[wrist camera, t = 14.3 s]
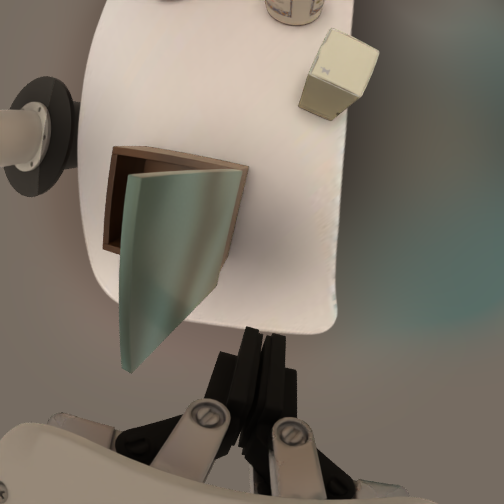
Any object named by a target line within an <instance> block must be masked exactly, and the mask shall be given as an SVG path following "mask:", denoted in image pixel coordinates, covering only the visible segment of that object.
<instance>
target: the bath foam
mask: <svg viewBox="0 0 504 504" xmlns="http://www.w3.org/2000/svg"><path fill="white" fill-rule="evenodd" d="M265 2H266V8H267V10H268V12H269V14H270V15H271V16H272V17H273V18H275V19H276V20H278V21H280V22H282V23H285V24H290V25H303V24H307V23H310V22H312V21H314V20H315V19H316V18H317V17H318V16H319V15H320V13H321V10H322V6H323V3H324V0H265Z"/></svg>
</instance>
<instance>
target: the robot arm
mask: <svg viewBox="0 0 504 504" xmlns="http://www.w3.org/2000/svg"><path fill="white" fill-rule="evenodd" d="M50 137H51V119H50V114H49V111H48V109H47V108H46V106H45V105H44V104H42V103H40V102H30V103H28V104H26V105H25V106H24V107H23V108H22V109H21V110H0V167H5V166H10V165H15V166H16V167H17V168H18V169H19V170H21V171H31V170H33V169H35V168H36V167H38V166H39V164H40V163H41V162H42V160H43V159H44V157H45V155H46V152H47V150H48V146H49V143H50ZM262 339H263V334H260V333H259V330H258V329H255V328H251V327H247V326H246V329H245V332H244V335H243V339H242V343H241V346H240V349H239V352H238V356H235V355H232V354H228V353H225V352H221V351H220V353H219V355H218V358H217V361H216V364H215V367H214V370H213V373H212V376H211V379H210V382H209V385H208V388H207V391H206V394H205V397H204V399H198V400H196V401H194V402H192V403H191V404H190V405H189V406H188V408H187V409H186V411H185V412H184V414H182V415H179V416H176V417H172V418H169V419H166V420H163V421H159V422H156V423H152V424H148V425H145V426H141V427H137V428H133V429H129V430H126V431H119V430H115V428H114V427H111V426H108V425H104V424H100V423H97V422H93V421H90V420H87V419H83V418H80V417H77V416H74V415H71V414H68V413H63V412H61V413H56V414H54V415H53V416H51V417H50V419H49V420H48V423H47V425H45V424H40V423H23V424H20V425H18V426H16V427H14V428H13V429H11V430H10V431H9V432H8V433H7V434H6V435H5V436H4V437H3V438H2V439H1V440H0V504H437V503H436V502H433V501H431V500H427V499H423V498H417V497H409V493H408V492H407V490H406V489H405V488H404V487H402V486H399V485H393V484H385V483H379V482H372V481H366V480H361V479H358V480H357V481H355V480H352V479H351V477H350V476H349V475H347V474H346V473H345V472H344V471H343V470H341V469H340V468H339V467H338V466H336V465H335V464H334V463H333V462H332V461H331V460H330V459H328V458H327V457H326V456H325V455H324V454H323V453H322V452H320V451H319V450H318V449H317V448H316V444H315V440H314V435H313V432H312V430H311V428H310V427H309V425H308V424H307V423H305V422H304V421H302V420H300V419H298V418H297V371H296V370H294V369H289V368H285V348H286V337H285V336H282V335H278V334H274V333H273V334H272V335H271V336H268V335H267V336H266V339H265V341H264V344H263V347H262V350H261V346H262ZM240 432H241V433H240ZM239 434H240V439H239V445H238V447H242V448H243V450H242V455H245V459H246V460H247V461H248V462H249V463H250V468H249V474H250V493H247V492H241V491H236V490H231V489H226V488H221V487H217V486H213V485H208V484H205V481H206V479H207V477H208V475H209V473H210V471H211V469H212V467H213V465H214V463H215V461H216V459H218V458H220V457H222V456H225V455H227V454H228V452H229V450H230V448H231V445H233V446H234V445H235V443H236V441H237V438H238V436H239Z"/></svg>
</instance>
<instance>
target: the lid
mask: <svg viewBox="0 0 504 504" xmlns="http://www.w3.org/2000/svg"><path fill="white" fill-rule="evenodd" d="M241 176H242V171H241V170H237V169H210V170H185V171H167V172H153V173H141V174H130V175H128V180H127V187H126V194H125V203H124V212H123V222H122V234H121V248H120V268H119V329H120V350H121V364H122V368H123V369H124V370H126V371H128V372H129V373H133V371H134V370H135V369H136V368H137V367H138V366H139V365H140V364H141V363H142V362H143V361H144V360H145V359H146V358H147V357H148V356H149V355H150V354H151V353H152V352H153V351H154V350H155V349H156V348H157V347H158V346H159V345H160V344H161V343H162V341H164V339H166V338H167V337H168V336H169V334H170V333H171V332H172V331H173V330H174V329H175V328H176V327H177V326H178V325H179V324H180V323H181V322H182V321H183V320H184V319H185V318H186V317H187V316H188V315H189V314H190V313H191V312H192V311H193V310H194V309H195V308H196V307H197V306H198V305H199V304H200V303H201V302H202V301H203V300H204V299H205V298H206V297H207V295H208V294H209V293H210V292H211V291H212V290H213V289H214V288H215V287H216V286H217V283H218V278H219V273H220V268H221V264H222V259H223V255H224V250H225V245H226V241H227V236H228V232H229V228H230V223H231V219H232V214H233V210H234V206H235V201H236V197H237V193H238V189H239V184H240V180H241Z"/></svg>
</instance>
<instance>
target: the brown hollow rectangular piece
mask: <svg viewBox="0 0 504 504" xmlns="http://www.w3.org/2000/svg"><path fill="white" fill-rule="evenodd" d="M210 169H237V170H241V171H242V176H241V180H240V184H239V189H238V193H237V197H236V201H235V206H234V210H233V214H232V219H231V223H230V228H229V232H228V236H227V241H226V245H225V250H224V255H223V259H222V264H221V268H220V271H221V269H222V267H223V265H224V263H225V261H226V259H227V257H228V254H229V249H230V245H231V241H232V236H233V232H234V228H235V223H236V219H237V215H238V210H239V206H240V202H241V198H242V194H243V189H244V185H245V181H246V177H247V173H248V169H249V166H244V165H240V164H236V163H231V162H227V161H222V160H218V159H213V158H208V157H203V156H198V155H193V154H188V153H182V152H177V151H171V150H165V149H159V148H153V147H147V146H114V147H113V151H112V157H111V164H110V170H109V178H108V186H107V195H106V205H105V217H104V233H103V249H104V250H107V251H110V252H113V253H116V254H119V255H120V248H121V234H122V222H123V212H124V203H125V194H126V187H127V180H128V175H130V174H141V173H153V172H167V171H185V170H210Z"/></svg>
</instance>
